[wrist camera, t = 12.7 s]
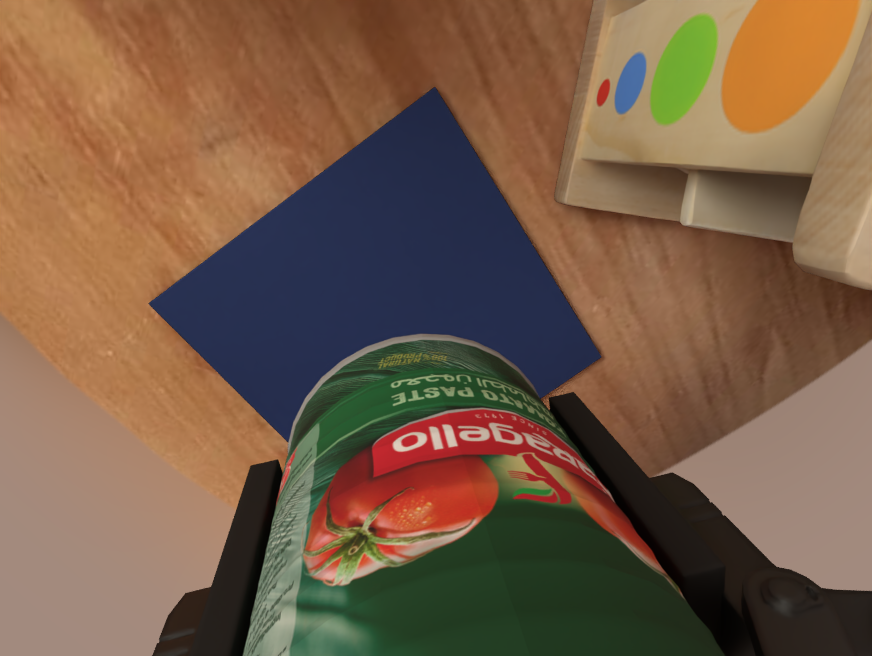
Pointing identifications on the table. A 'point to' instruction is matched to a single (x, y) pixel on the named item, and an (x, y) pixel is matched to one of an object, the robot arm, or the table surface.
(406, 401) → the canned tomato
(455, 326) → the cloth
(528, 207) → the table surface
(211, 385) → the table surface
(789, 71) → the pounding bench toy
